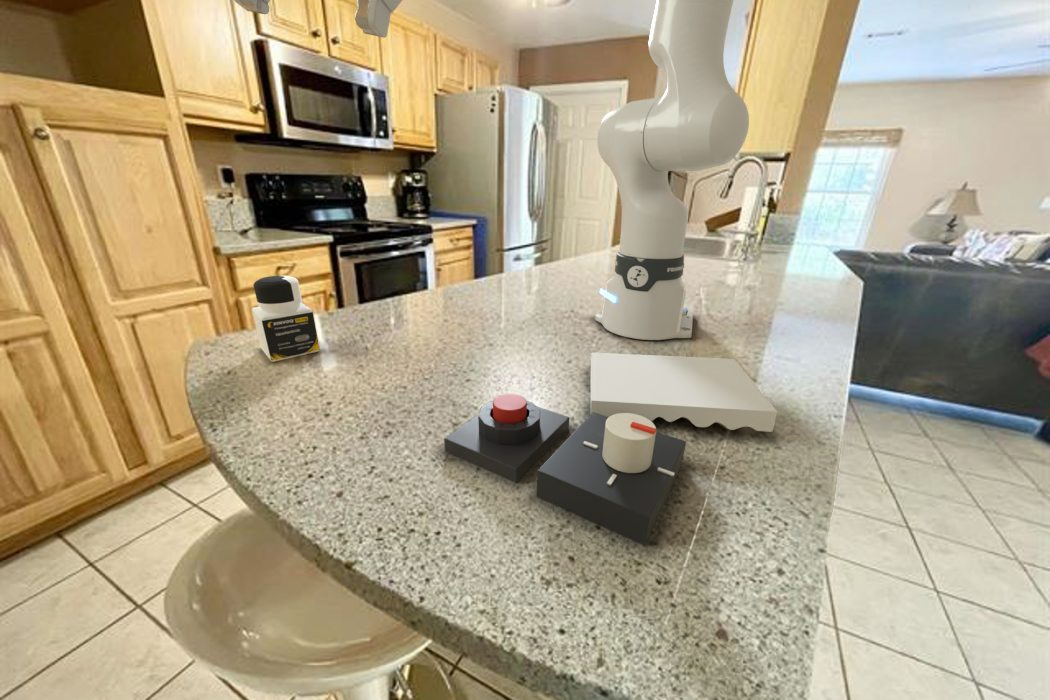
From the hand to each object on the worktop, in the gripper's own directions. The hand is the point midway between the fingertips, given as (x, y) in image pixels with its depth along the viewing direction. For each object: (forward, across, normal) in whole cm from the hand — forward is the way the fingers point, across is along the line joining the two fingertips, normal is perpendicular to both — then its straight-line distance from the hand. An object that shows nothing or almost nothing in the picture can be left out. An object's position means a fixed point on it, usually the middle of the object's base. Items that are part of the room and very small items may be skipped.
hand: (309, 19), depth 29 cm
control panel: (+30, -31, -9) cm, 44 cm away
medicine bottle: (+36, +20, -31) cm, 51 cm away
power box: (+32, -20, -13) cm, 39 cm away
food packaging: (+25, -37, -26) cm, 52 cm away
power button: (+29, -19, -13) cm, 37 cm away
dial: (+27, -31, -8) cm, 42 cm away
